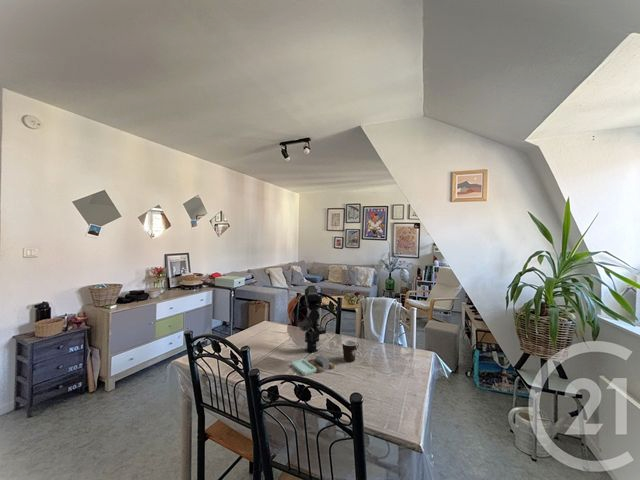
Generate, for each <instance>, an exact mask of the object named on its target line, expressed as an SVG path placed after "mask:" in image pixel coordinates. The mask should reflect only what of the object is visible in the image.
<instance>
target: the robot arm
mask: <svg viewBox="0 0 640 480" xmlns="http://www.w3.org/2000/svg"><path fill="white" fill-rule="evenodd" d="M304 298H305V301H306V308H307V316H306V319H305V320H303V321H301V322H300V323H299V324H298V326H299V328H300V330H301V331H303V332H304V342H305V343H306V348H304V350H305V352H308V354H312V353H315V352H319V349H317V343H319V341H320V335H325V334H326V333H327V329H326V328H325V327H323V326H320V324H319V320H320V312H319V308H321V305H322V298H321V295H319V293H318V289H317V287H316V285H307V287H306V288H305V289H304Z"/></svg>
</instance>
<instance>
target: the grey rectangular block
mask: <svg viewBox="0 0 640 480" xmlns="http://www.w3.org/2000/svg"><path fill="white" fill-rule="evenodd" d="M314 359H315V363H317V364H318V365H319V366H321V367H322V368H323V372H324V371H328V370H330V368H329V362H330V360H329V359H328V358H327V357H325V356H324V355H322V354H321V355H316V356H315V358H314Z"/></svg>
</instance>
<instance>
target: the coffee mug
mask: <svg viewBox="0 0 640 480" xmlns="http://www.w3.org/2000/svg"><path fill="white" fill-rule="evenodd" d="M341 343H342V345H341V346H342V354H343V360H344V361H345V362H346V363H353V362H355V360H356V352H357V350H358V348H359V346H360V345H359V342H357V341H355V340H351V339H347V340H343V341H342V342H341Z"/></svg>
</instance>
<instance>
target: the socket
mask: <svg viewBox="0 0 640 480" xmlns="http://www.w3.org/2000/svg"><path fill="white" fill-rule="evenodd" d="M307 362H309V363H310V364H311V365H313V366H314V367H316V368H317V372H319V373H324V371H323V368H322V367H321V366H319V365H318V364H317V363H315V358H312V359H308V360H307ZM330 369H331V370H333V369H335V364H334V363H332V362H331V361H329V370H330Z"/></svg>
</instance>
